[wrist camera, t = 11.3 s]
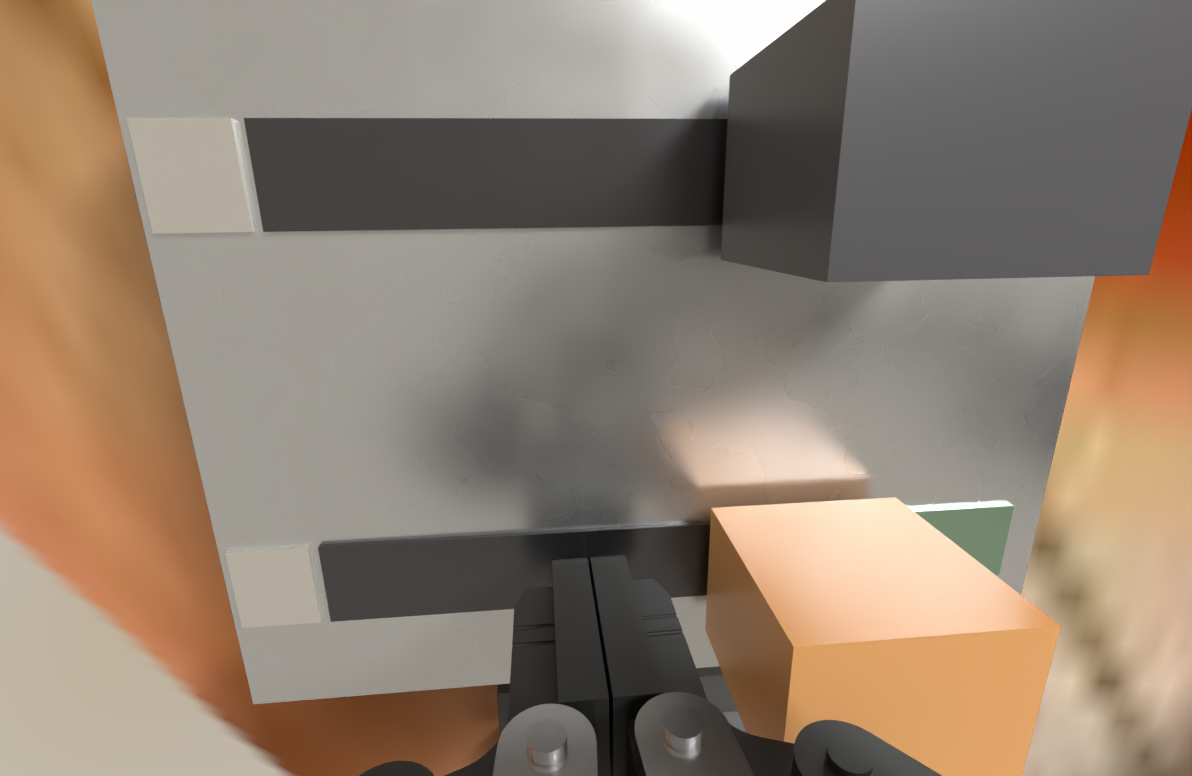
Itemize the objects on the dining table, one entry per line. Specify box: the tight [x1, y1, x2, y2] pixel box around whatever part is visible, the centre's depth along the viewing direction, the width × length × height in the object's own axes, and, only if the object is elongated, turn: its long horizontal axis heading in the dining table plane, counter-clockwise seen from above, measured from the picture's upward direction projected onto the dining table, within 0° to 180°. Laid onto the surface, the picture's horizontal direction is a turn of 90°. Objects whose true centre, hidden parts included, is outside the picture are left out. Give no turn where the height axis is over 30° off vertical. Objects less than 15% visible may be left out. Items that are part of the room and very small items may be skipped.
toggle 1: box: [721, 0, 1192, 282], centre depth 8 cm, size 4×3×4 cm
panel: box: [91, 0, 1095, 704], centre depth 13 cm, size 18×14×4 cm
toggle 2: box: [705, 497, 1061, 776], centre depth 10 cm, size 4×3×4 cm
